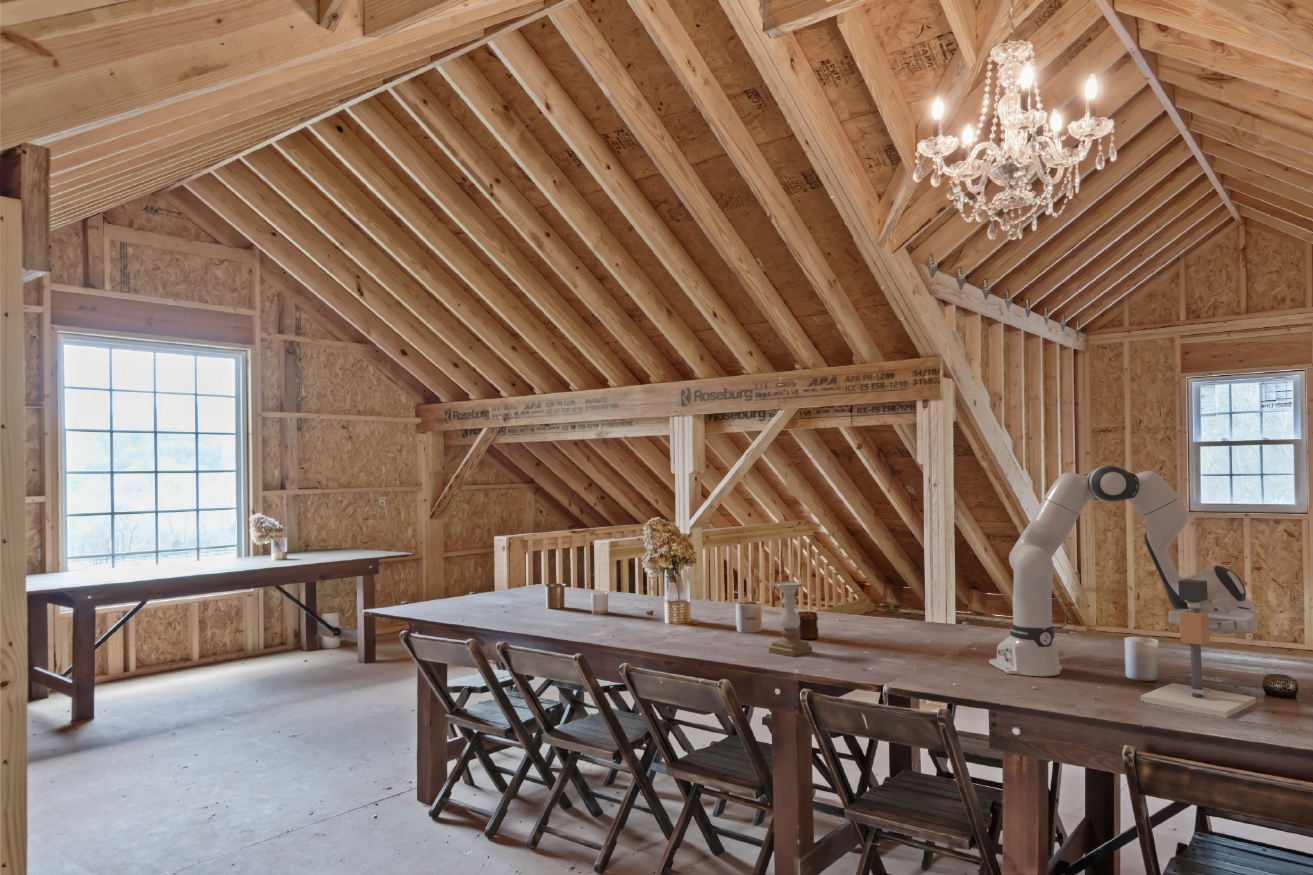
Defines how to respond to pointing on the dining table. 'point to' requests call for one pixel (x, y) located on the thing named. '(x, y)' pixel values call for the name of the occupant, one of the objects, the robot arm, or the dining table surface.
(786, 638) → the candle holder
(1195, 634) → the sleeve
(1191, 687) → the post
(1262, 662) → the dining table surface
